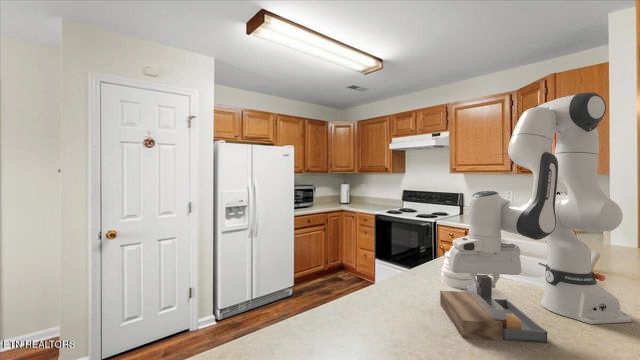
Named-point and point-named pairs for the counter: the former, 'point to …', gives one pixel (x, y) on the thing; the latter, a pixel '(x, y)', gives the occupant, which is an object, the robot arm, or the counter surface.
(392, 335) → the counter surface
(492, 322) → the ledge
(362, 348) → the counter surface
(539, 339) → the tray
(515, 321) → the block
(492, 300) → the grey stick with cube
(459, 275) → the honey pot
